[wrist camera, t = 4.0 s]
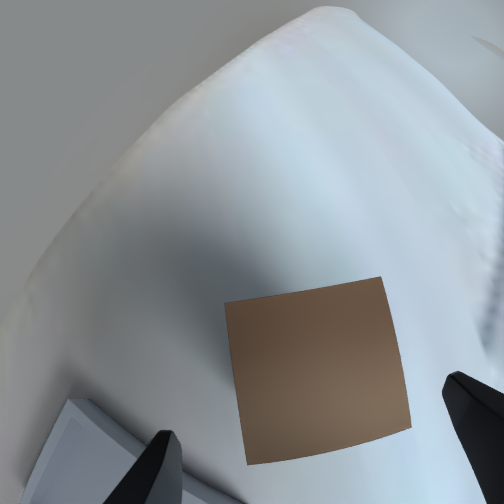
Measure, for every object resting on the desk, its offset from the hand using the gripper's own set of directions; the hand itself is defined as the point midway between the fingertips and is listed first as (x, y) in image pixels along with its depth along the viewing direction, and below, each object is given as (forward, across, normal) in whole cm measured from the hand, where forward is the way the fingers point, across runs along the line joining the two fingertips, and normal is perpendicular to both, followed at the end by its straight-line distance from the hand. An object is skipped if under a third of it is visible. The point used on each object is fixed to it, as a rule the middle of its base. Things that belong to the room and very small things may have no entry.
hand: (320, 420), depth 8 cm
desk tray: (+1, +12, +12) cm, 17 cm away
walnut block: (+8, 0, +5) cm, 9 cm away
